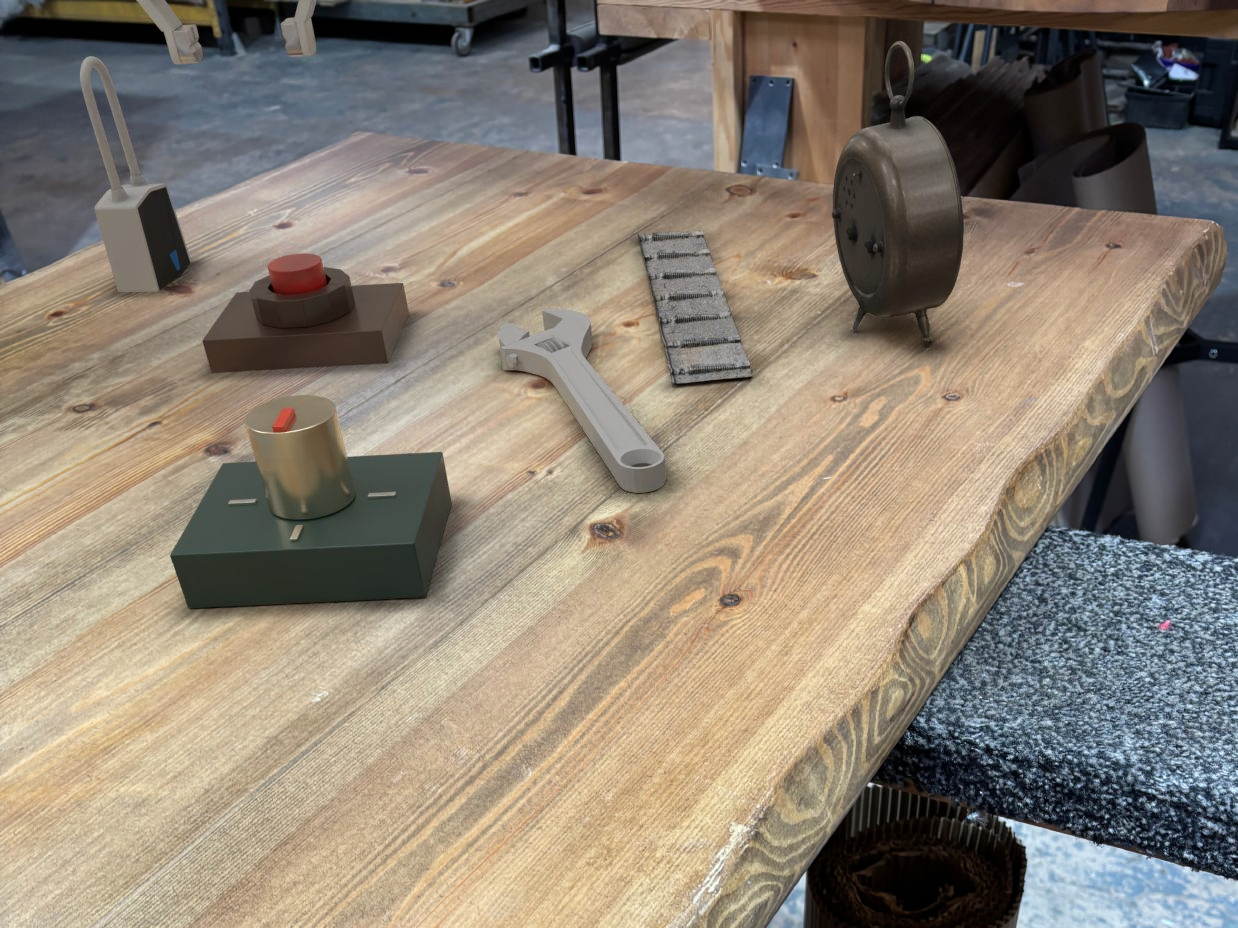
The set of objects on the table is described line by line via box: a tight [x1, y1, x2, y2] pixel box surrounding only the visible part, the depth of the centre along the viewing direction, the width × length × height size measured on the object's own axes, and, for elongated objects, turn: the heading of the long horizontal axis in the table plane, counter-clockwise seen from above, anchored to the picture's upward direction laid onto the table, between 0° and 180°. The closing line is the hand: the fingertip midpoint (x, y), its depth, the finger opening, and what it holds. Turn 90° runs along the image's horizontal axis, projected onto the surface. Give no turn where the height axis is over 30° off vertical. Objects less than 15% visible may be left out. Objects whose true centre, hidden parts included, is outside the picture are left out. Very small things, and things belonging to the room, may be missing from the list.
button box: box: [201, 266, 410, 374], centre depth 91 cm, size 12×9×4 cm
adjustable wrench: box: [497, 308, 667, 494], centre depth 81 cm, size 25×6×2 cm, turn 14°
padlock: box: [79, 55, 192, 293], centre depth 99 cm, size 7×4×15 cm, turn 173°
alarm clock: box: [831, 40, 965, 348], centre depth 82 cm, size 11×5×16 cm, turn 17°
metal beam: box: [637, 229, 754, 385], centre depth 93 cm, size 30×1×5 cm
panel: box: [169, 451, 453, 609], centre depth 68 cm, size 12×10×3 cm
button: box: [266, 252, 327, 295], centre depth 89 cm, size 4×4×2 cm
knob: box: [244, 394, 355, 520], centre depth 66 cm, size 4×4×5 cm
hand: (245, 58), depth 80 cm, fingers open, 6 cm apart
